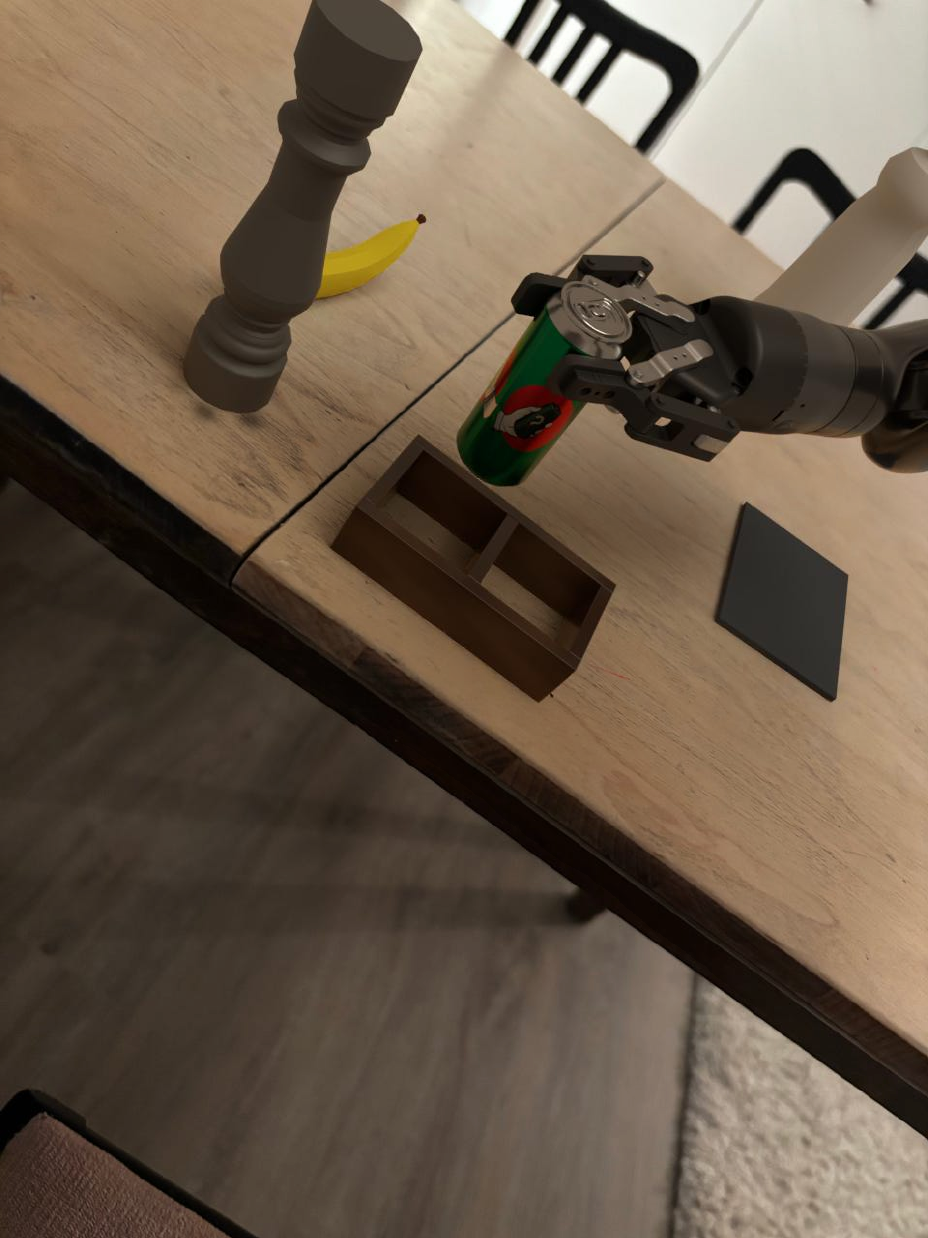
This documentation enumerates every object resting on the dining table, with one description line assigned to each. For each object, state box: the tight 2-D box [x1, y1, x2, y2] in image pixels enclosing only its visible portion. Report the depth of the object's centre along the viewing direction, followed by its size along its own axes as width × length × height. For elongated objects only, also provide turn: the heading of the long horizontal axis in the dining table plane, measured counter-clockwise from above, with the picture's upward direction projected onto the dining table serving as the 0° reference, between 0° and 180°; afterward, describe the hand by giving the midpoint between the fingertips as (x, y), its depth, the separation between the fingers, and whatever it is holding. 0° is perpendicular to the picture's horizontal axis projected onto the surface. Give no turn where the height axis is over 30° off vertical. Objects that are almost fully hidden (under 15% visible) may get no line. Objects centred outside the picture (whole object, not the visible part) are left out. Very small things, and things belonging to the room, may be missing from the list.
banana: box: [315, 213, 427, 299], centre depth 71 cm, size 3×19×6 cm, turn 134°
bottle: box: [752, 146, 928, 327], centre depth 89 cm, size 9×9×30 cm
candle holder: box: [182, 0, 424, 414], centre depth 55 cm, size 6×6×25 cm
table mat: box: [715, 501, 850, 703], centre depth 81 cm, size 16×12×1 cm
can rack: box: [329, 433, 617, 703], centre depth 63 cm, size 17×9×4 cm, turn 64°
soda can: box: [456, 281, 632, 488], centre depth 53 cm, size 5×5×12 cm
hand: (538, 332), depth 49 cm, fingers closed on soda can, 5 cm apart
